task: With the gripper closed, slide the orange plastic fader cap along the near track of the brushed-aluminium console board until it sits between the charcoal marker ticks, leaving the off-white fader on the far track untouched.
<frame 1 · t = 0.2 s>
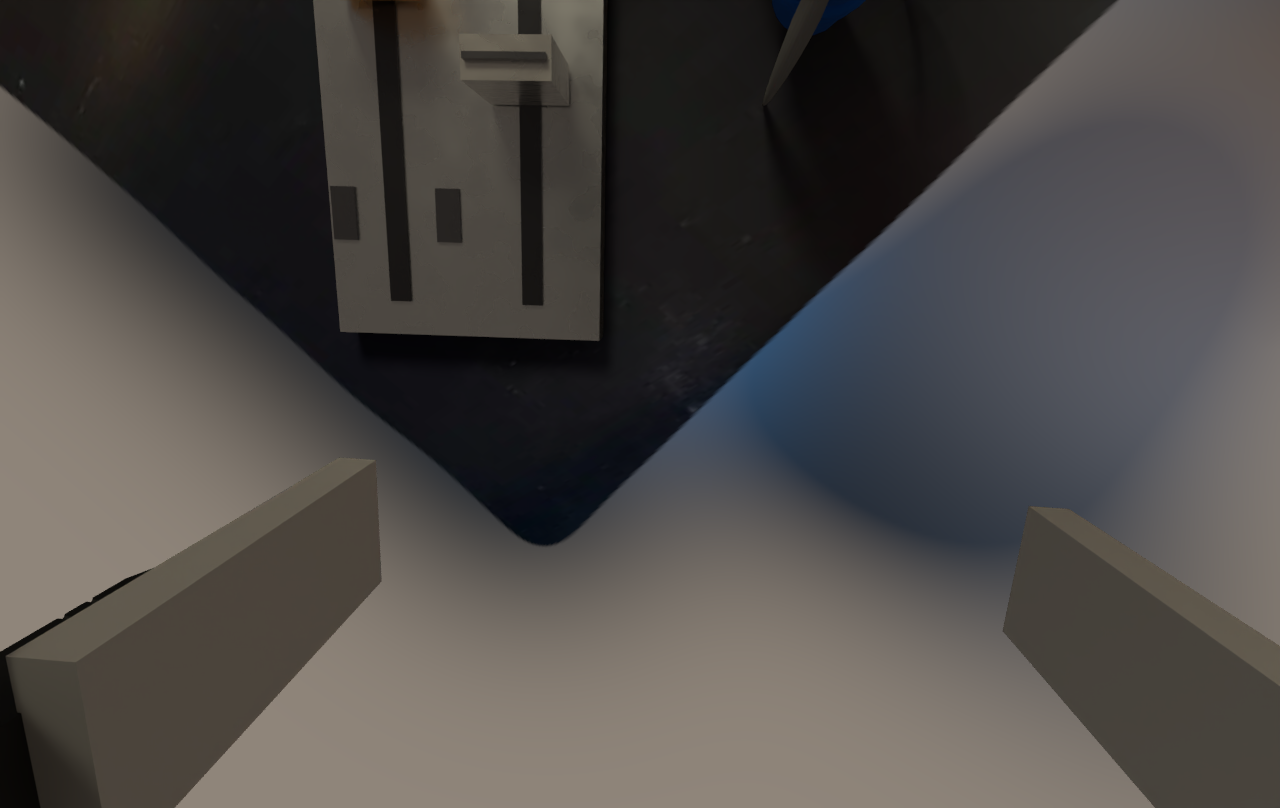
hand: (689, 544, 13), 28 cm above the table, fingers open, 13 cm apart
console: (472, 130, 37), on the table
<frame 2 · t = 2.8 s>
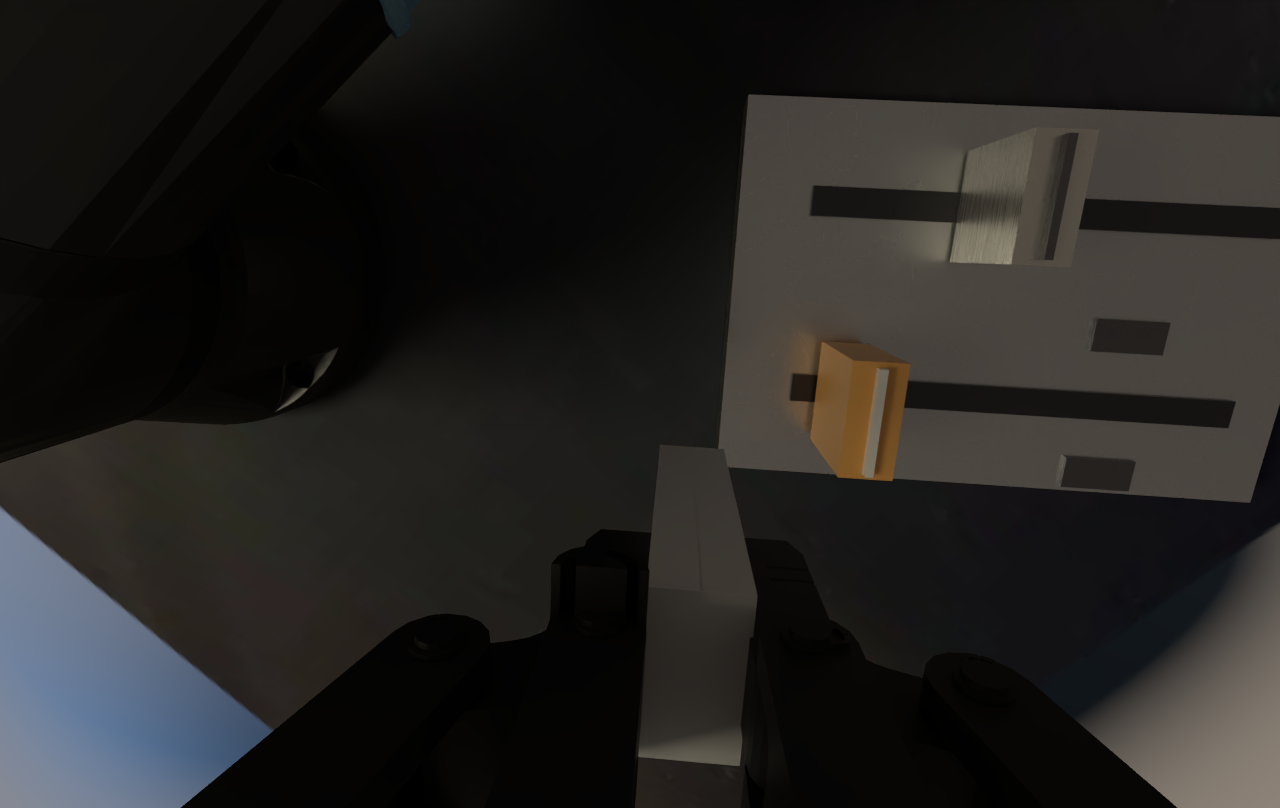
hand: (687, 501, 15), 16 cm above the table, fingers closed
fader: (855, 406, 25), point 5 cm above the table, slide at 0.0 cm
console: (989, 305, 29), on the table
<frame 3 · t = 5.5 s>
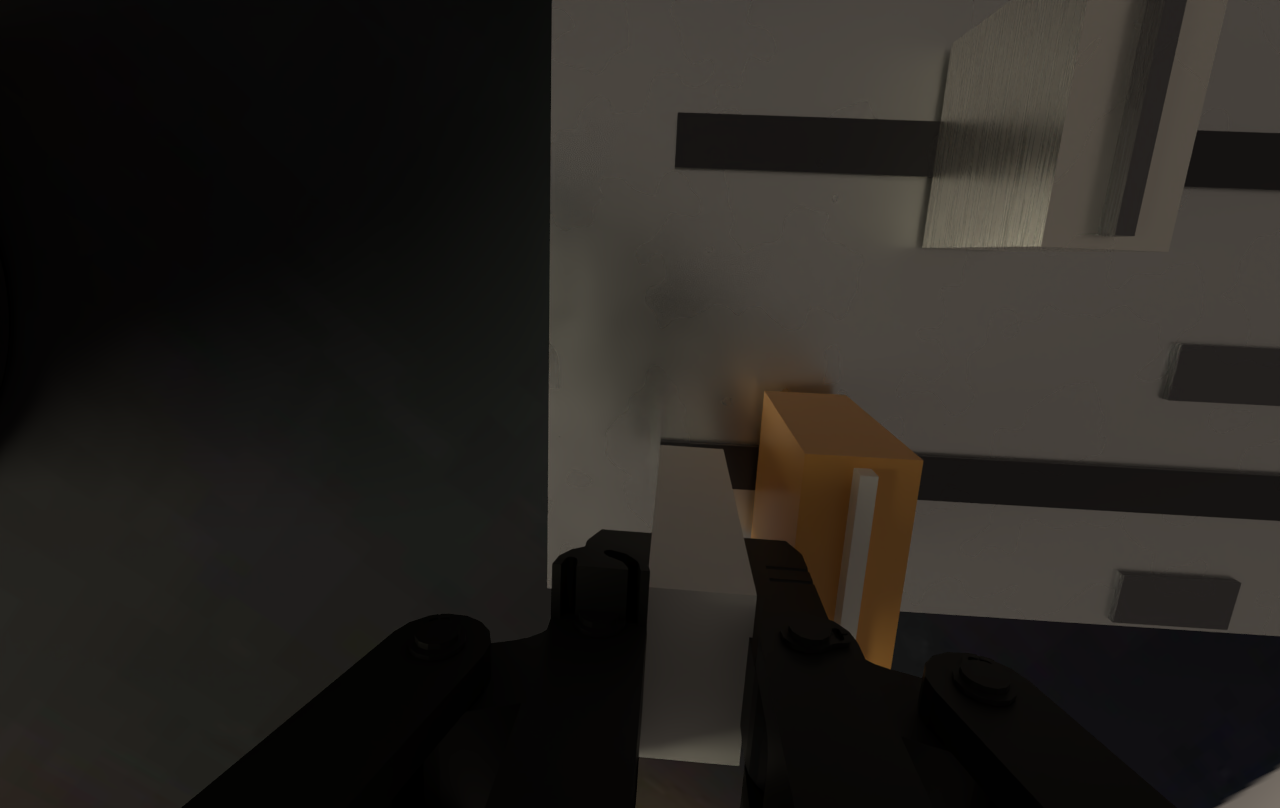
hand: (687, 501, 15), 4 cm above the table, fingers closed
fader: (819, 520, 14), point 5 cm above the table, slide at 1.5 cm, touching gripper
console: (992, 319, 17), on the table
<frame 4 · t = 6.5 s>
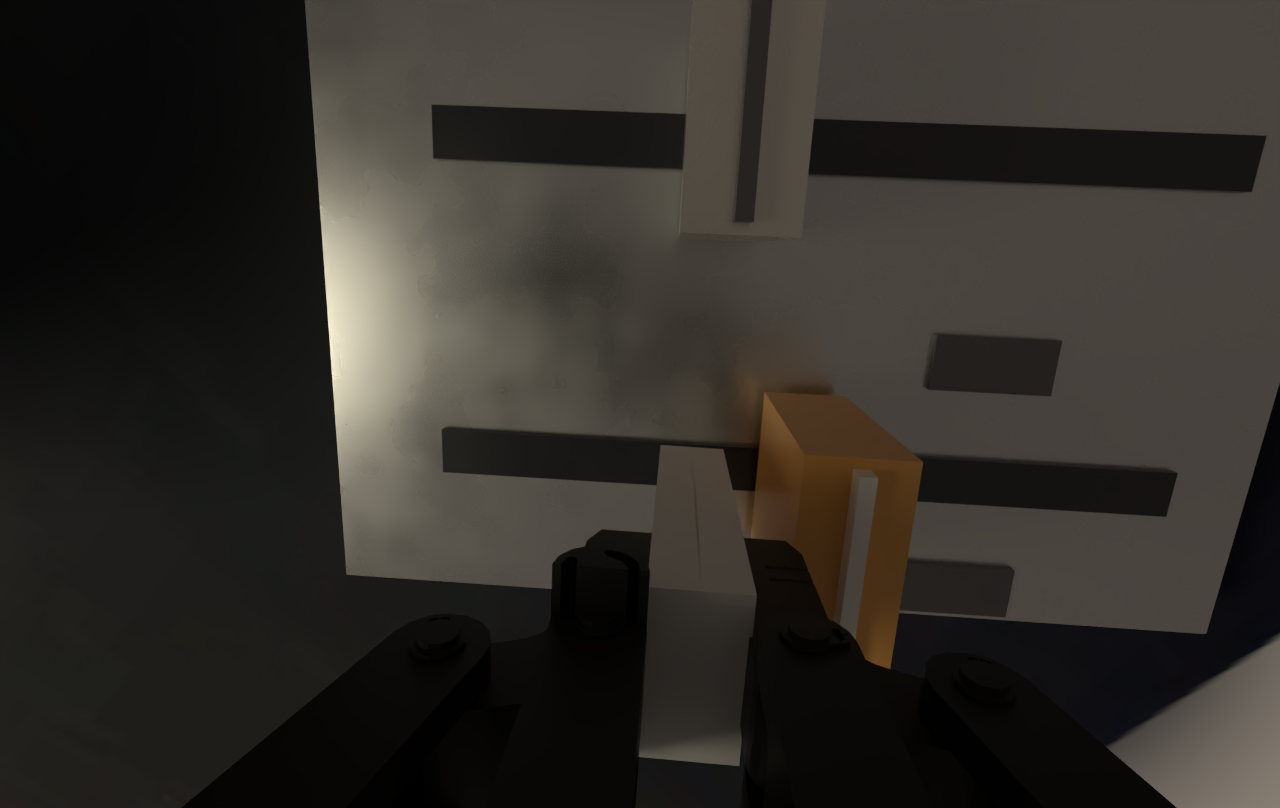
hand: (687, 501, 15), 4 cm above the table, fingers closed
fader: (819, 521, 14), point 5 cm above the table, slide at 7.4 cm, touching gripper
console: (780, 310, 18), on the table
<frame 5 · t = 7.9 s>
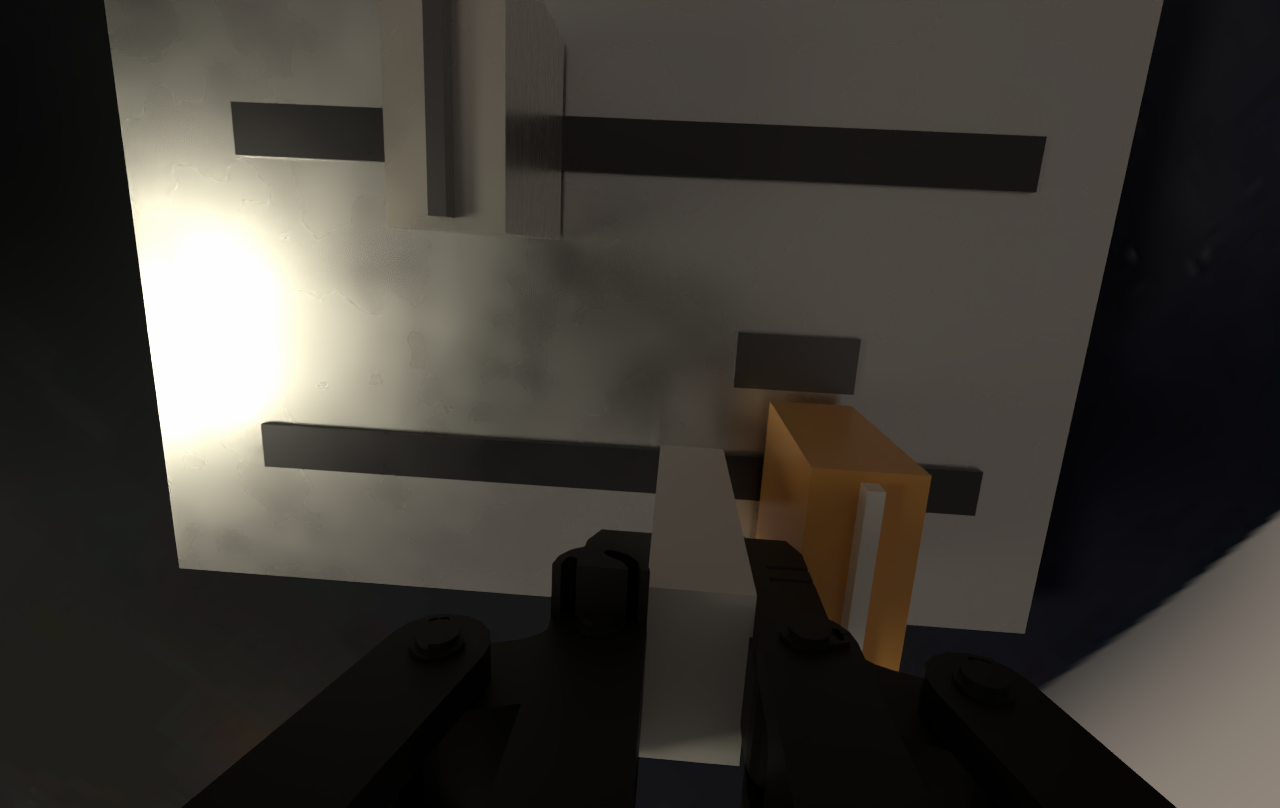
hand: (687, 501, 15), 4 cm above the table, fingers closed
fader: (824, 533, 13), point 5 cm above the table, slide at 12.4 cm, touching gripper
console: (607, 308, 18), on the table
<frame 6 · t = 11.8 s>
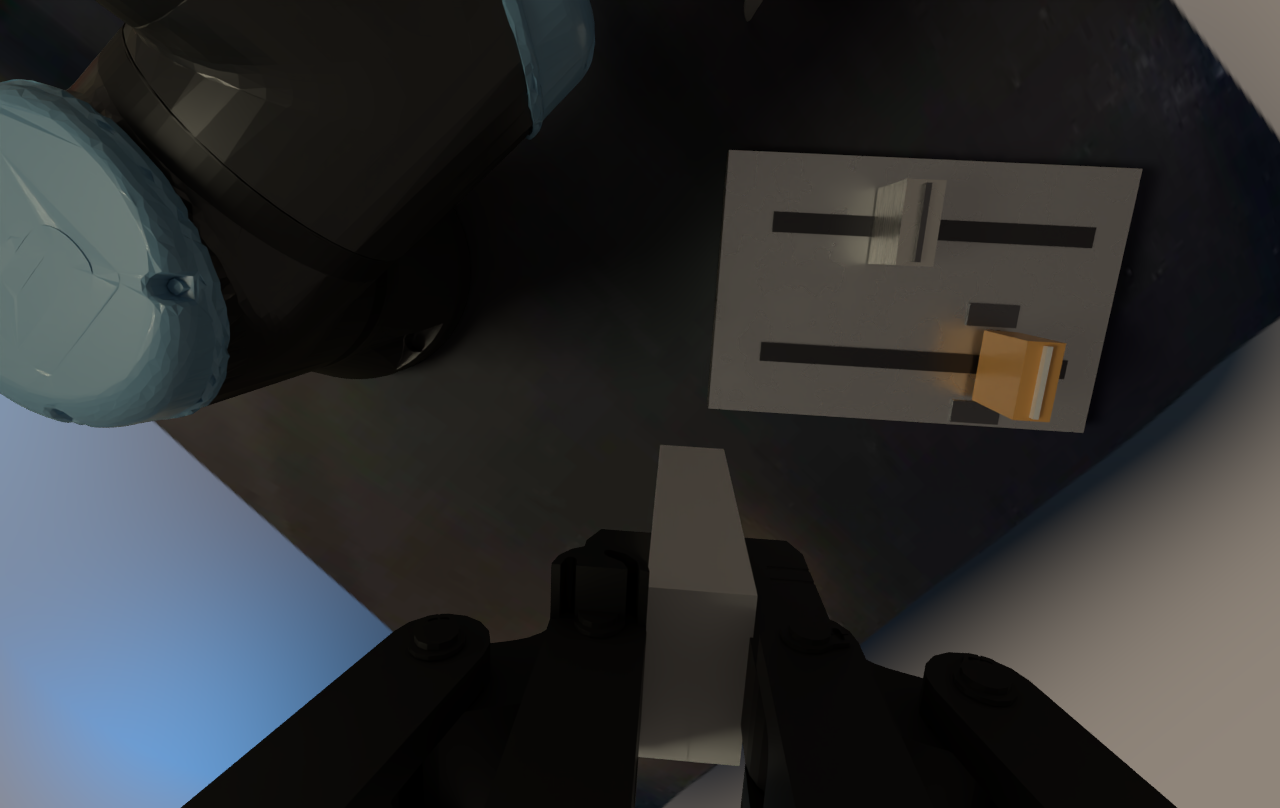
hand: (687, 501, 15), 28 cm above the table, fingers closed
fader: (1016, 374, 37), point 5 cm above the table, slide at 12.4 cm
console: (901, 294, 41), on the table
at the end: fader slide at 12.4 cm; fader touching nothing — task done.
